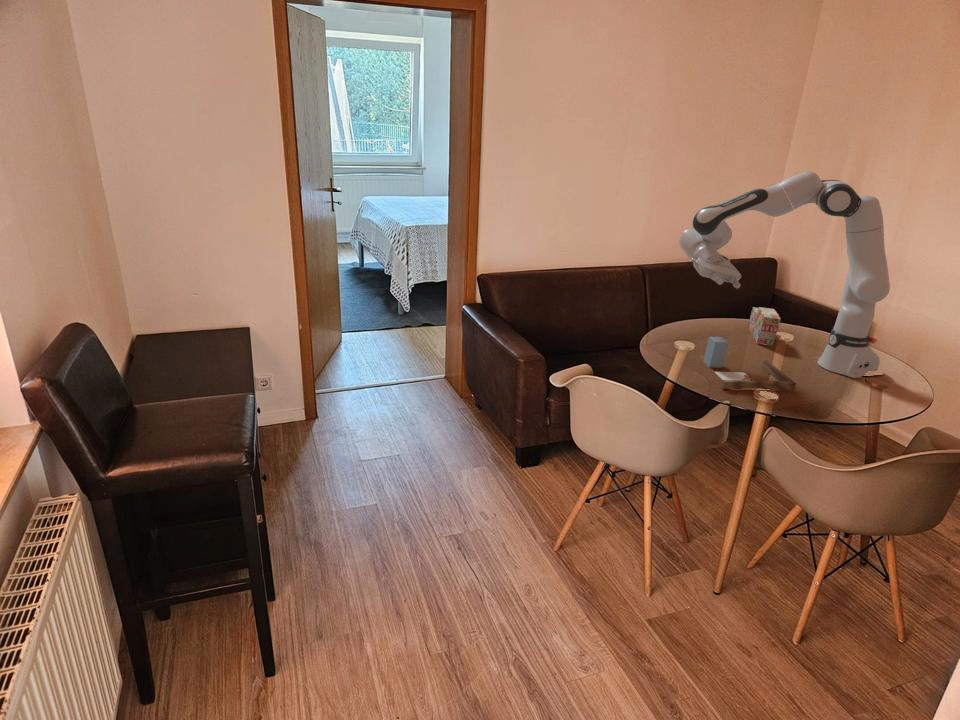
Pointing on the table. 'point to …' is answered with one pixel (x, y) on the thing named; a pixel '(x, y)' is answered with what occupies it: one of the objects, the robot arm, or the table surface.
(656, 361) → the table surface
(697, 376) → the table surface
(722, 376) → the felt pad
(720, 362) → the slate-blue block
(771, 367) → the walnut fence
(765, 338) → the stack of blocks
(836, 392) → the table surface
